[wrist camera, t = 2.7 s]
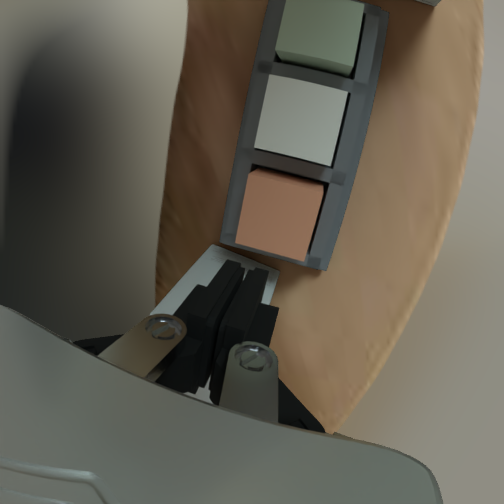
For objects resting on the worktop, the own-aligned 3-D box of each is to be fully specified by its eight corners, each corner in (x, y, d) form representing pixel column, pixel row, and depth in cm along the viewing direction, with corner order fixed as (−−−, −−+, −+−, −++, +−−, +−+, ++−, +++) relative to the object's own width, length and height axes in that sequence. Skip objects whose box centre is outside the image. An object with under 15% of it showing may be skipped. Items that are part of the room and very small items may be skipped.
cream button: (277, 83, 20) (269, 74, 17) (342, 98, 20) (347, 91, 16) (264, 145, 22) (253, 147, 19) (328, 160, 22) (330, 166, 18)
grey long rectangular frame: (274, -7, 19) (265, -28, 15) (385, 18, 18) (396, -1, 14) (224, 236, 29) (208, 254, 25) (325, 264, 28) (326, 287, 24)
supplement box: (211, 241, 30) (147, 309, 18) (282, 270, 29) (256, 358, 18) (194, 299, 33) (138, 377, 22) (256, 326, 32) (224, 416, 21)
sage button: (294, 9, 18) (288, -12, 14) (357, 23, 17) (364, 4, 13) (282, 62, 20) (275, 49, 16) (347, 77, 19) (353, 66, 15)
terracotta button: (259, 167, 23) (248, 173, 20) (322, 183, 23) (323, 192, 19) (247, 226, 25) (235, 242, 22) (306, 241, 25) (303, 261, 21)
